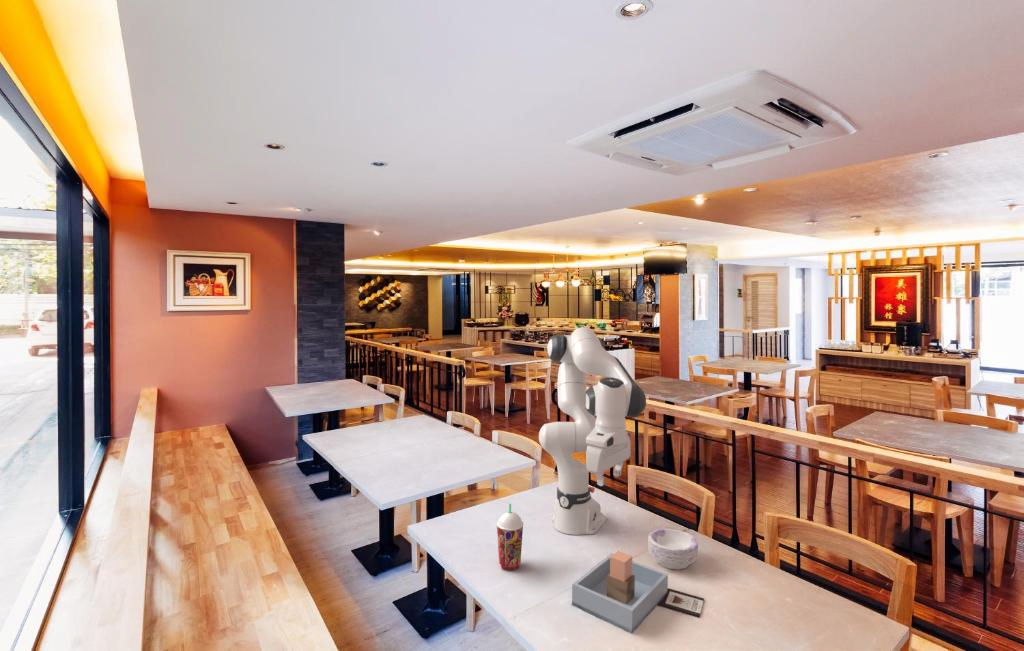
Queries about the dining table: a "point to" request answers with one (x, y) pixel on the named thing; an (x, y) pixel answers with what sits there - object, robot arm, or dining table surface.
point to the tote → (594, 600)
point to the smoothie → (509, 540)
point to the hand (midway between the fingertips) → (609, 480)
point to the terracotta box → (621, 566)
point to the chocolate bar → (682, 602)
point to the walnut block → (621, 589)
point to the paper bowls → (673, 548)
